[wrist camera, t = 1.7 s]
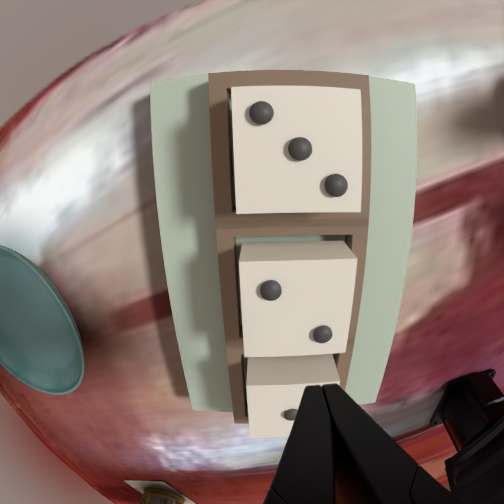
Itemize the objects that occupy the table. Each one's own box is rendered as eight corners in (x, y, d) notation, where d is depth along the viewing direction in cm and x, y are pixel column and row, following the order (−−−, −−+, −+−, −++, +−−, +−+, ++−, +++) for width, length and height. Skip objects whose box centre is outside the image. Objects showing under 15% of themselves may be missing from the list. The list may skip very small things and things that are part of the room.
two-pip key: (335, 325, 17) (346, 354, 14) (246, 328, 17) (244, 359, 14) (343, 240, 15) (358, 260, 12) (242, 242, 15) (238, 263, 13)
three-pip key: (344, 200, 14) (362, 213, 12) (240, 202, 14) (236, 215, 12) (344, 97, 13) (362, 88, 10) (236, 96, 13) (230, 86, 10)
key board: (368, 385, 22) (379, 415, 19) (197, 392, 23) (189, 423, 20) (400, 88, 15) (426, 79, 12) (161, 88, 15) (140, 77, 12)
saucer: (8, 363, 24) (-4, 376, 21) (-34, 235, 19) (-52, 244, 17) (115, 390, 24) (105, 410, 21) (74, 231, 19) (53, 243, 16)
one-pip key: (323, 406, 19) (329, 436, 16) (251, 410, 19) (249, 440, 17) (331, 353, 17) (340, 383, 15) (248, 356, 17) (246, 388, 15)
